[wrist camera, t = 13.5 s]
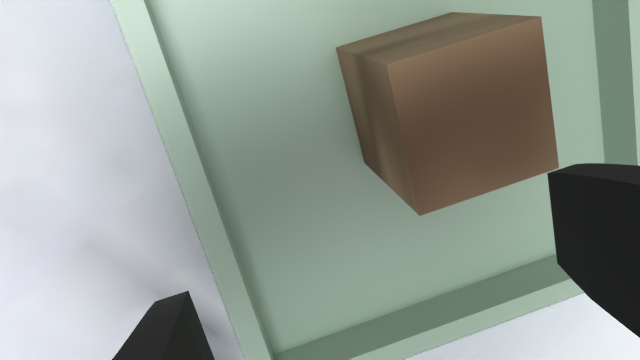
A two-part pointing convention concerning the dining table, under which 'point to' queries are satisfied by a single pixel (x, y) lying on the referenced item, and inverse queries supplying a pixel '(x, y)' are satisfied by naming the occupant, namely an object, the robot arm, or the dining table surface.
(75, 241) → the dining table surface
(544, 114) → the walnut block
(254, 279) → the sage green tray
